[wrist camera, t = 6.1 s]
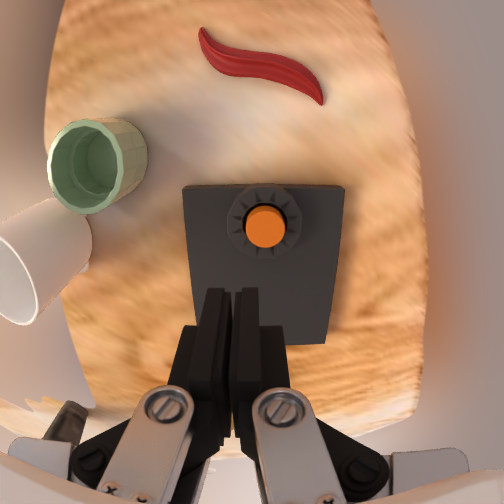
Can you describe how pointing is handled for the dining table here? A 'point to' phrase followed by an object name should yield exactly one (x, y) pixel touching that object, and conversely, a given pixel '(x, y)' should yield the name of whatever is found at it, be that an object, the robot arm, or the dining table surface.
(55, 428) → the beverage cup
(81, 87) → the dining table surface
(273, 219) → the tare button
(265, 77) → the cayenne pepper
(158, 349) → the dining table surface
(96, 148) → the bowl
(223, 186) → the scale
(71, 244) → the cup
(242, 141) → the dining table surface
